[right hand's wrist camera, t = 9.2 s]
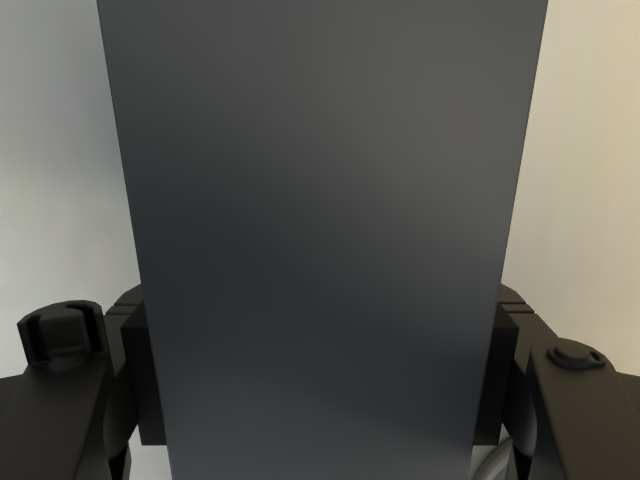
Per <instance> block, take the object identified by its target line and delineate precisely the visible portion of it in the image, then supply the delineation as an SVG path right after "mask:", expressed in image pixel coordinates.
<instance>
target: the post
mask: <svg viewBox="0 0 640 480" xmlns="http://www.w3.org/2000/svg"><path fill="white" fill-rule="evenodd" d="M96 1H97V7H98V14H99V20H100V26H101V33H102V39H103V45H104V52H105V58H106V64H107V71H108V77H109V83H110V89H111V96H112V102H113V108H114V115H115V121H116V127H117V134H118V140H119V146H120V152H121V159H122V165H123V171H124V178H125V184H126V190H127V197H128V203H129V209H130V216H131V222H132V228H133V234H134V241H135V247H136V253H137V260H138V266H139V272H140V279H141V285H142V291H143V298H144V304H145V310H146V316H147V323H148V329H149V335H150V342H151V348H152V354H153V361H154V367H155V373H156V380H157V386H158V392H159V398H160V405H161V411H162V417H163V424H164V430H165V436H166V443H167V449H168V455H169V462H170V468H171V474H172V480H467V478H468V472H469V466H470V460H471V454H472V449H473V443H474V437H475V431H476V425H477V419H478V413H479V407H480V401H481V395H482V389H483V383H484V378H485V372H486V366H487V360H488V354H489V348H490V342H491V336H492V330H493V324H494V318H495V312H496V307H497V301H498V295H499V289H500V283H501V277H502V271H503V265H504V259H505V253H506V247H507V241H508V236H509V230H510V224H511V218H512V212H513V206H514V200H515V194H516V188H517V182H518V176H519V171H520V165H521V159H522V153H523V147H524V141H525V135H526V129H527V123H528V117H529V111H530V105H531V100H532V94H533V88H534V82H535V76H536V70H537V64H538V58H539V52H540V46H541V40H542V34H543V29H544V23H545V17H546V11H547V5H548V0H96Z"/></svg>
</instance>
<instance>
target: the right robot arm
mask: <svg viewBox="0 0 640 480" xmlns="http://www.w3.org/2000/svg"><path fill="white" fill-rule="evenodd" d="M17 327H18V330H19V334H20V337H21V341H22V344H23V348H24V352H25V355H26V359H27V362H28V366H27V368H26V369H25V371H24V373H23V374H21V375H17V376H11V377H6V378H1V379H0V480H129V475H130V468H131V453H130V448H129V443H128V441H129V439H130V437H131V435H132V433H133V431H134V429H135V428H136V426H137V424H138V428H139V433H140V439H141V444H142V445H167V443H166V436H165V430H164V424H163V417H162V411H161V405H160V398H159V392H158V386H157V380H156V373H155V367H154V361H153V354H152V348H151V342H150V335H149V329H148V323H147V316H146V310H145V304H144V298H143V291H142V285H141V284H139V285H138V286H136V287H134V288H132V289H130V290H129V291H127V292H125V293H124V294H123V295H122V296H121V297H120V298H119V299H118V300H117V301H116V302H115V303H114V306H112V307H111V308H110V309H109V310H108V311H107V312H106V315H103V312H102V307H101V306H100V305H99V304H97V303H96V302H92V301H86V300H73V301H65V302H60V303H55V304H51V305H49V306H46V307H43V308H40V309H37V310H35V311H34V312H32V313H30V314H28V315H26V316H25V317H24V318H22V319H21V320H20V321H19V322H18V323H17ZM502 422H503V424H504V426H505V428H506V430H507V432H508V433H509V435H510V437H511V439H509V440H508V441H506V442H505V443H504V444H502V445H501V446H500V447H499V448H497V449H496V450H495V451H494V452H493V453H492V454H491V455H490V456H489V457H488V458H487V459H486V461H485V462H484V463H483V464H482V466H481V467H480V469H479V470H478V472H477V474H476V475H475V477H474V479H473V480H640V377H639V376H634V375H629V374H623V373H619V372H616V370H615V369H614V367H613V365H612V364H611V362H610V361H609V360H608V359H607V358H606V357H605V356H604V355H603V354H601V353H600V352H598V351H597V350H595V349H594V348H592V347H590V346H587V345H585V344H582V343H580V342H577V341H573V340H569V339H564V338H559V337H558V336H557V335H556V334H555V333H554V332H553V331H552V330H551V329H550V328H549V327H548V325H547V324H546V323H545V322H544V321H543V320H542V319H541V318H540V317H539V316H538V315H537V314H534V310H533V309H532V308H531V307H530V306H529V305H526V302H525V301H524V300H523V299H522V298H521V296H520V295H519V294H518V293H517V292H516V291H514V290H512V289H510V288H509V287H507V286H505V285H503V284H501V283H500V289H499V295H498V301H497V307H496V312H495V318H494V324H493V330H492V336H491V342H490V348H489V354H488V360H487V366H486V372H485V378H484V383H483V389H482V395H481V401H480V407H479V413H478V419H477V425H476V431H475V437H474V443H473V445H498V442H499V437H500V431H501V426H502Z"/></svg>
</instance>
